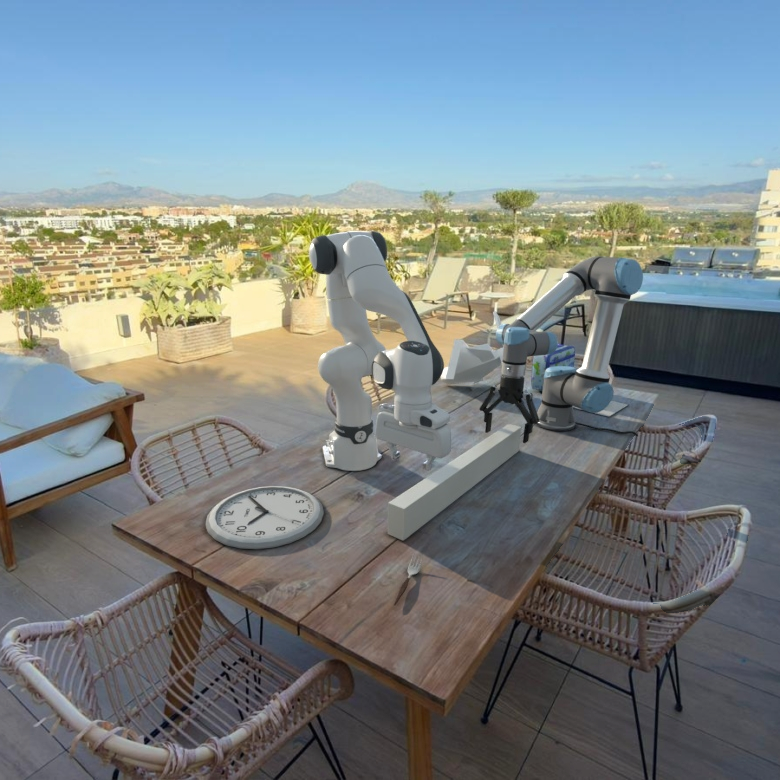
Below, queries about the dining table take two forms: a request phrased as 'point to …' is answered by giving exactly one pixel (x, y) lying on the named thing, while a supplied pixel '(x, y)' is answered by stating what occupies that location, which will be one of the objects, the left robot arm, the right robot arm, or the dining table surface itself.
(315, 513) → the wall clock
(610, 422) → the dining table surface
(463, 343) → the white plastic object
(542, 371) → the lunch box
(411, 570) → the fork
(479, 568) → the dining table surface
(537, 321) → the right robot arm
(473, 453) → the post
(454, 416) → the dining table surface
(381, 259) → the left robot arm
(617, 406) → the invitation card
